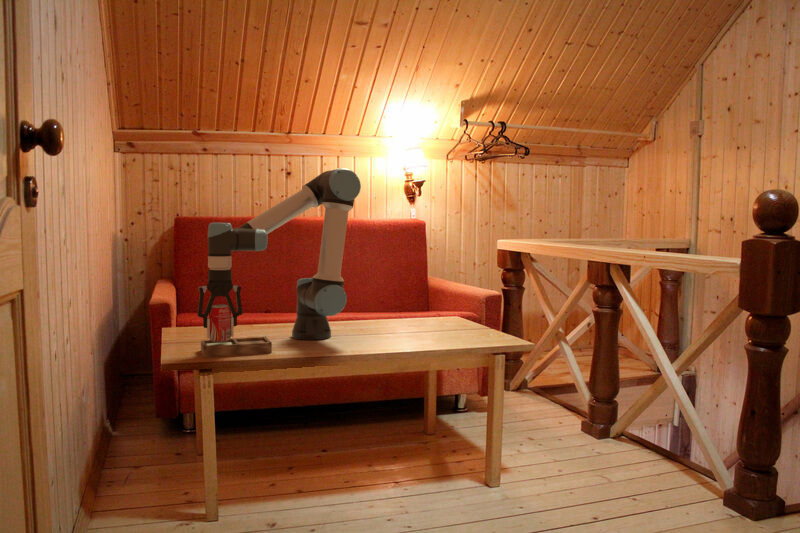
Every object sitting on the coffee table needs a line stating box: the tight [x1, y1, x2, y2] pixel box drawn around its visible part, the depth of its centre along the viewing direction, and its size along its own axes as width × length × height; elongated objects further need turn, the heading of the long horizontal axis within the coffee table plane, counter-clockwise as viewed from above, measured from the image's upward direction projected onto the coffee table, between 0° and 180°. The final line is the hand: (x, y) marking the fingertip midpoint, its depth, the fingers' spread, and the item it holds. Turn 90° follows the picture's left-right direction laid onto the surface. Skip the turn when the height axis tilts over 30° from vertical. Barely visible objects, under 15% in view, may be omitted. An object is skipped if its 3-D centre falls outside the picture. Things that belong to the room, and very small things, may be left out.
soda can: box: [208, 304, 232, 343], centre depth 190 cm, size 7×7×12 cm
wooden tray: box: [200, 336, 273, 358], centre depth 193 cm, size 22×11×4 cm, turn 113°
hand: (220, 336), depth 190 cm, fingers closed on soda can, 7 cm apart
